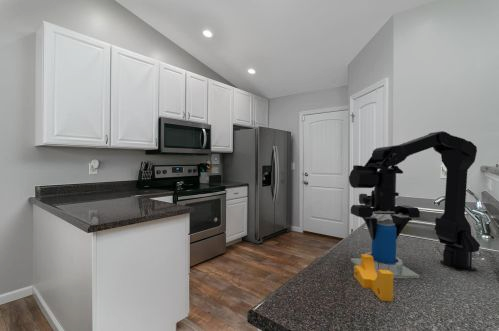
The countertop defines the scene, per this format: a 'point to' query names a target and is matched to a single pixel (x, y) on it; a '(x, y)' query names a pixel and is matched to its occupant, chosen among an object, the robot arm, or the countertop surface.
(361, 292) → the countertop surface
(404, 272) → the duct collar
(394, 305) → the countertop surface
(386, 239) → the beverage can
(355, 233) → the countertop surface
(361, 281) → the pipe clamp
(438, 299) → the countertop surface
